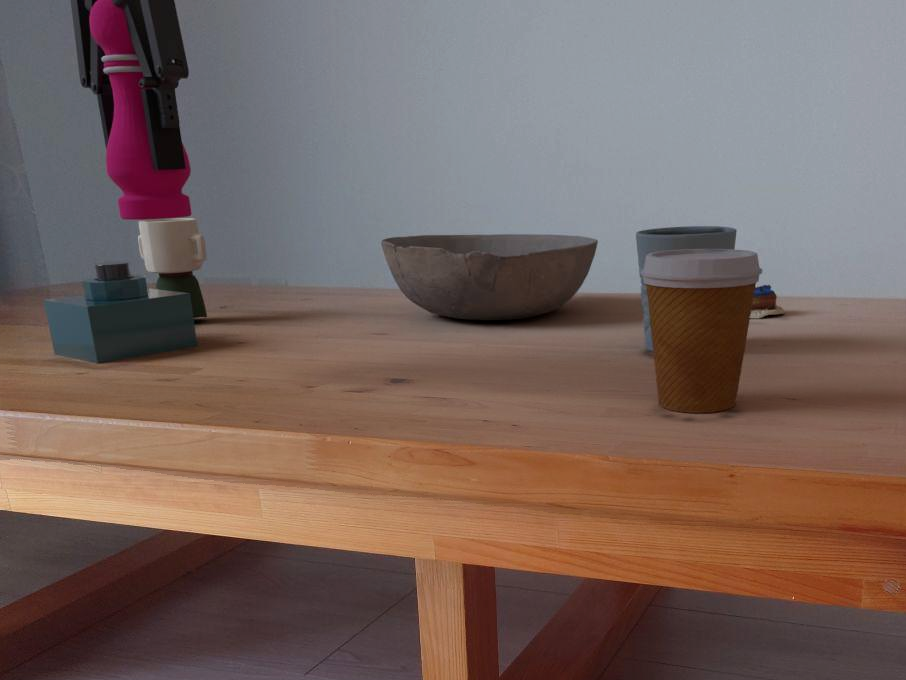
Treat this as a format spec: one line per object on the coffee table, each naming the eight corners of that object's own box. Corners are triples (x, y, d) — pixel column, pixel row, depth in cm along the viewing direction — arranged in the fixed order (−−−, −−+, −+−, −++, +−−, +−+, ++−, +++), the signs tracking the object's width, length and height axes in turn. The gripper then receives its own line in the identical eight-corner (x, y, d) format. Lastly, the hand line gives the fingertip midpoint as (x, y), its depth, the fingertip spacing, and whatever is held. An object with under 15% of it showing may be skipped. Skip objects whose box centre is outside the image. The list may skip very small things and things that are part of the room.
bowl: (347, 327, 126) (339, 244, 122) (449, 297, 149) (445, 227, 146) (550, 336, 116) (548, 245, 112) (625, 302, 139) (625, 227, 136)
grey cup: (751, 348, 106) (757, 228, 101) (674, 360, 101) (677, 235, 96) (690, 335, 114) (693, 224, 109) (616, 345, 109) (616, 230, 105)
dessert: (749, 314, 122) (736, 270, 123) (719, 340, 127) (707, 298, 129) (800, 313, 125) (787, 271, 127) (769, 338, 131) (756, 298, 132)
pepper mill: (101, 219, 93) (58, -26, 86) (173, 214, 98) (138, -18, 91) (137, 221, 89) (95, -38, 82) (211, 215, 94) (178, -29, 86)
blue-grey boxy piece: (97, 363, 107) (83, 287, 104) (54, 354, 113) (39, 281, 111) (197, 346, 116) (187, 274, 113) (152, 338, 122) (141, 270, 119)
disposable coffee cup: (780, 406, 82) (789, 253, 78) (690, 424, 77) (695, 262, 73) (702, 386, 89) (706, 246, 85) (616, 402, 85) (616, 254, 80)
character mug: (233, 320, 134) (220, 217, 129) (195, 328, 128) (180, 221, 123) (171, 317, 138) (156, 217, 134) (132, 325, 132) (114, 221, 128)
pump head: (107, 285, 109) (104, 265, 109) (91, 283, 112) (88, 263, 111) (138, 281, 112) (135, 262, 111) (122, 279, 114) (118, 260, 113)
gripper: (206, -140, 80) (245, 167, 88) (87, -96, 93) (130, 170, 101) (117, -159, 75) (167, 170, 83) (3, -109, 87) (56, 172, 96)
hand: (147, 169), depth 92 cm, fingers closed on pepper mill, 7 cm apart
